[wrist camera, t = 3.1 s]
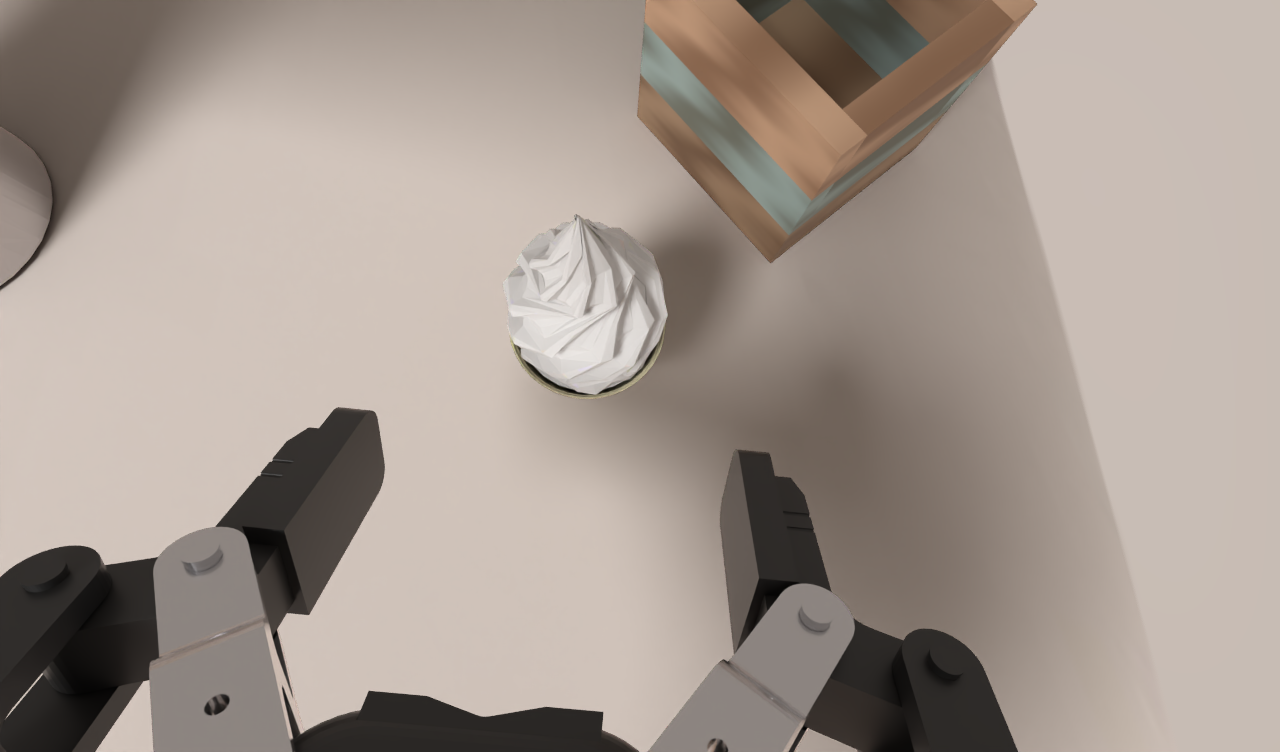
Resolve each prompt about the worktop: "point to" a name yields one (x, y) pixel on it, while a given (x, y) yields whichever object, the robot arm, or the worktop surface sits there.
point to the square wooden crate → (806, 95)
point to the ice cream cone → (586, 309)
